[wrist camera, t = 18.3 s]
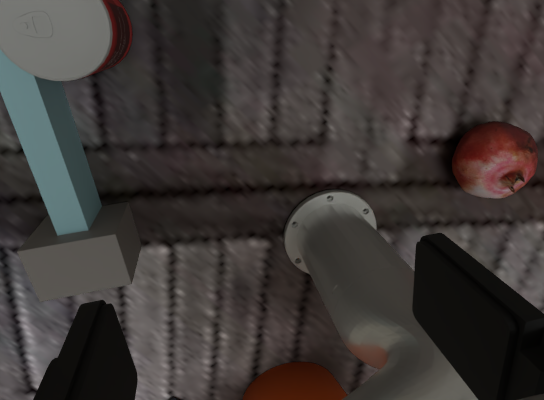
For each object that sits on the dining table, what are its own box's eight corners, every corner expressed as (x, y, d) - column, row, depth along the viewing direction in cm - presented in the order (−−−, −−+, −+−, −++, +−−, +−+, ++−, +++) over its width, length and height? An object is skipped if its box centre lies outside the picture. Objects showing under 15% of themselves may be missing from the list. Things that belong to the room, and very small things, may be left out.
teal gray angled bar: (190, 236, 47) (189, 272, 40) (65, 259, 45) (40, 302, 38) (126, -46, 34) (108, -68, 27) (-51, -30, 33) (-121, -49, 25)
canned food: (27, 0, 34) (-42, -15, 24) (109, -30, 35) (74, -57, 25) (73, 82, 38) (28, 98, 28) (147, 54, 38) (130, 60, 28)
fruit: (503, 107, 48) (574, 123, 39) (501, 174, 52) (566, 202, 43) (437, 127, 47) (494, 148, 38) (440, 193, 51) (492, 226, 42)
